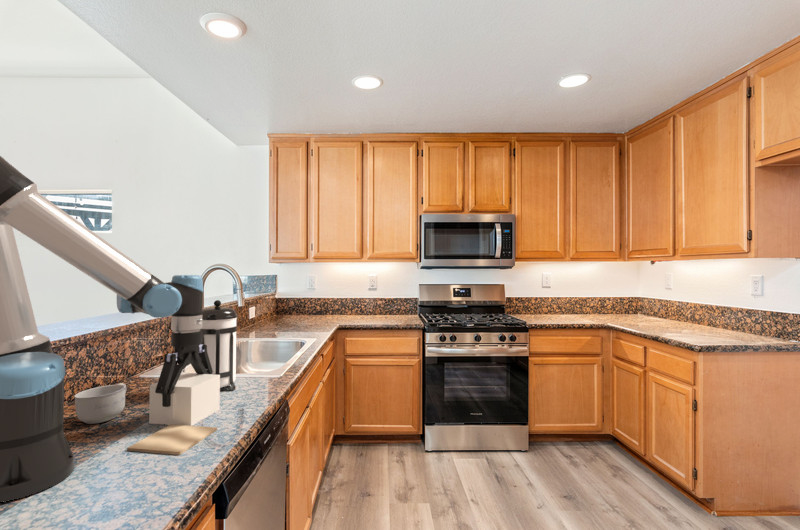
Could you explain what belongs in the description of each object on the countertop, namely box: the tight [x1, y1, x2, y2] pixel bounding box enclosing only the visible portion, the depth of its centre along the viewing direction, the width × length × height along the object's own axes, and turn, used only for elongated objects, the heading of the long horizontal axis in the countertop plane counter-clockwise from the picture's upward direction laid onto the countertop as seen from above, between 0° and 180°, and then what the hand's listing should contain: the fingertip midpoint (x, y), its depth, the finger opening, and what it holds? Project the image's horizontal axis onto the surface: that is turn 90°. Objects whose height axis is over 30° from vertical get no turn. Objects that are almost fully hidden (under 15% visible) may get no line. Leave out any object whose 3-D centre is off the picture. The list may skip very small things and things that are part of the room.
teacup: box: [73, 382, 127, 425], centre depth 103 cm, size 14×11×8 cm
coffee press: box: [200, 299, 239, 391], centre depth 128 cm, size 17×16×30 cm
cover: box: [148, 372, 221, 426], centre depth 104 cm, size 12×12×10 cm
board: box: [126, 424, 218, 456], centre depth 90 cm, size 13×13×1 cm
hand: (186, 409), depth 104 cm, fingers closed on cover, 12 cm apart
